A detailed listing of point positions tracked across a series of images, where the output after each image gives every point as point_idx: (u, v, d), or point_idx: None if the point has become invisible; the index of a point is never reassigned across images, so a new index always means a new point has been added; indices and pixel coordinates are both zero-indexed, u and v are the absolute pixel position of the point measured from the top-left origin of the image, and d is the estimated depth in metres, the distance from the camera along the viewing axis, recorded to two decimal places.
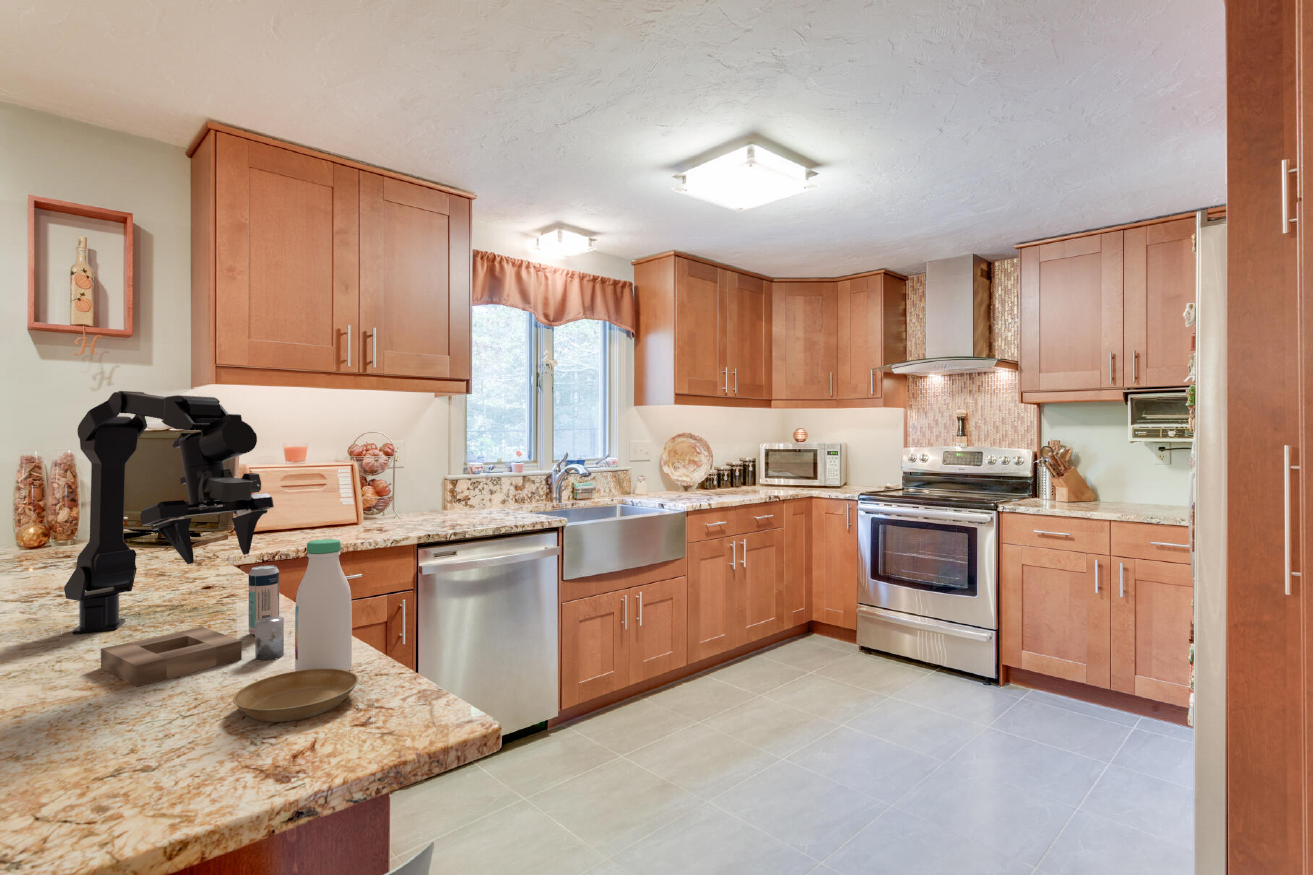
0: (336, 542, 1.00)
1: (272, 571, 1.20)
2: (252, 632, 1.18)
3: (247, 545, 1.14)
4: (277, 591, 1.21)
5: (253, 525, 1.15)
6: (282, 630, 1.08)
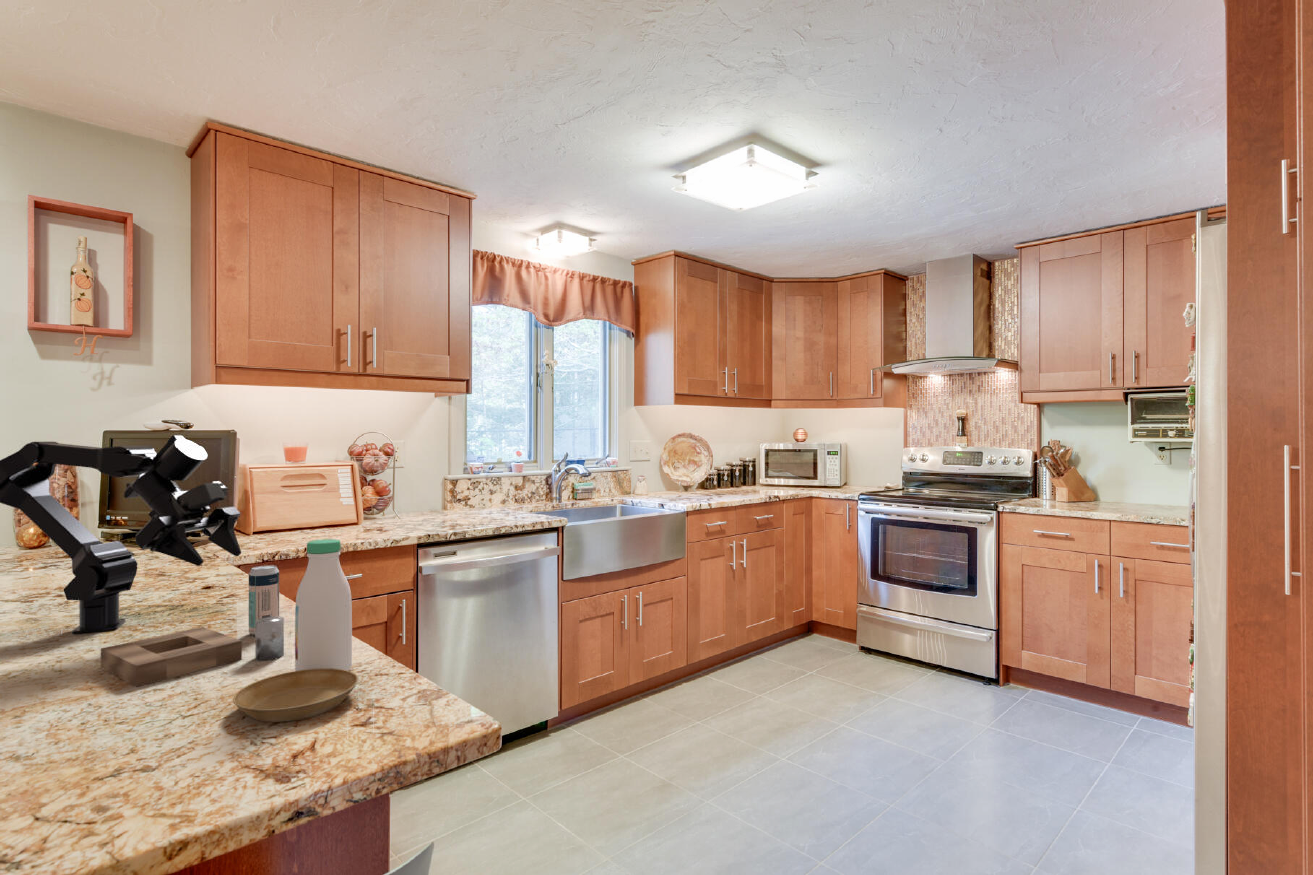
0: (336, 542, 1.00)
1: (272, 571, 1.20)
2: (252, 632, 1.18)
3: (236, 547, 1.26)
4: (277, 591, 1.21)
5: (232, 531, 1.27)
6: (282, 630, 1.08)
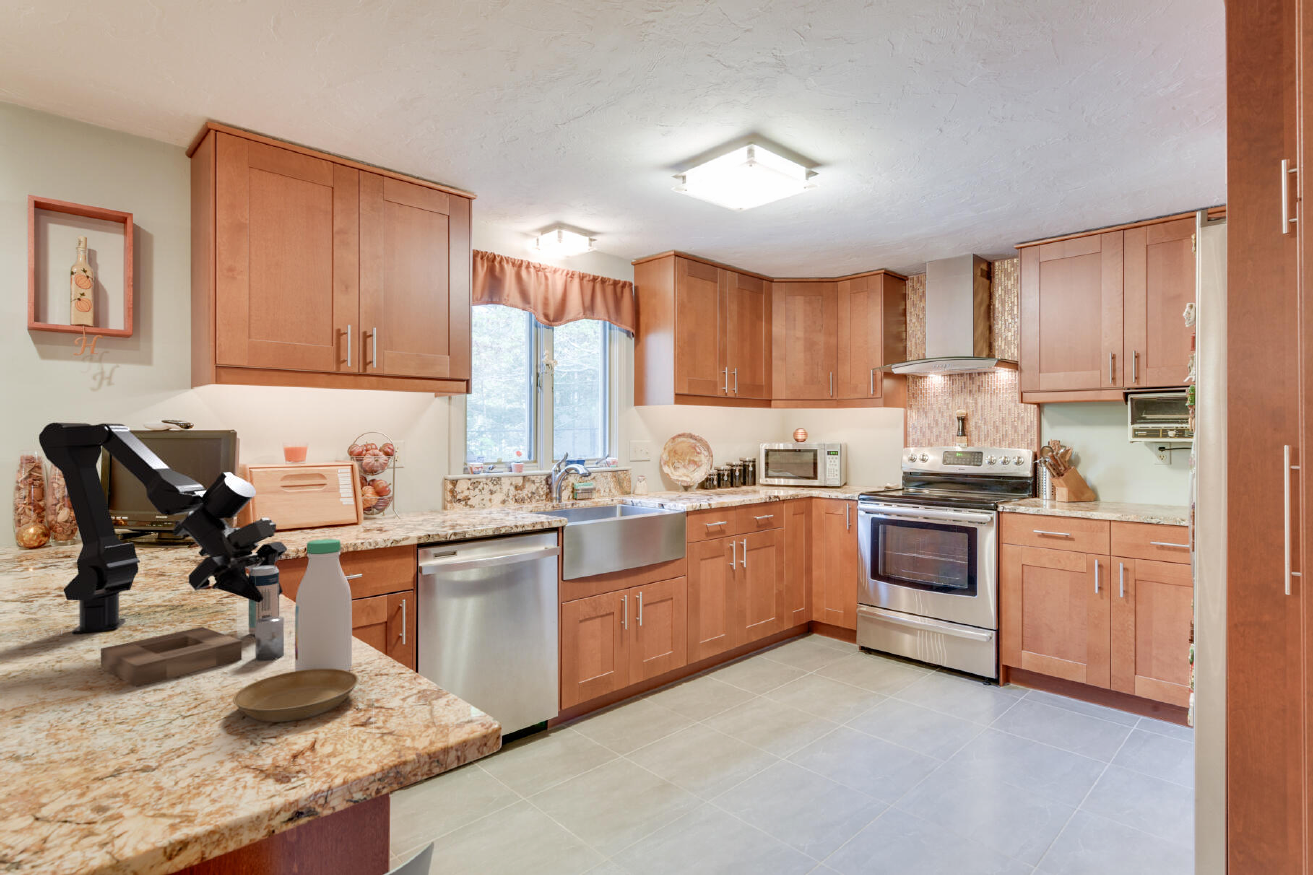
0: (336, 542, 1.00)
1: (272, 571, 1.20)
2: (252, 632, 1.18)
3: None
4: (277, 591, 1.21)
5: None
6: (282, 630, 1.08)
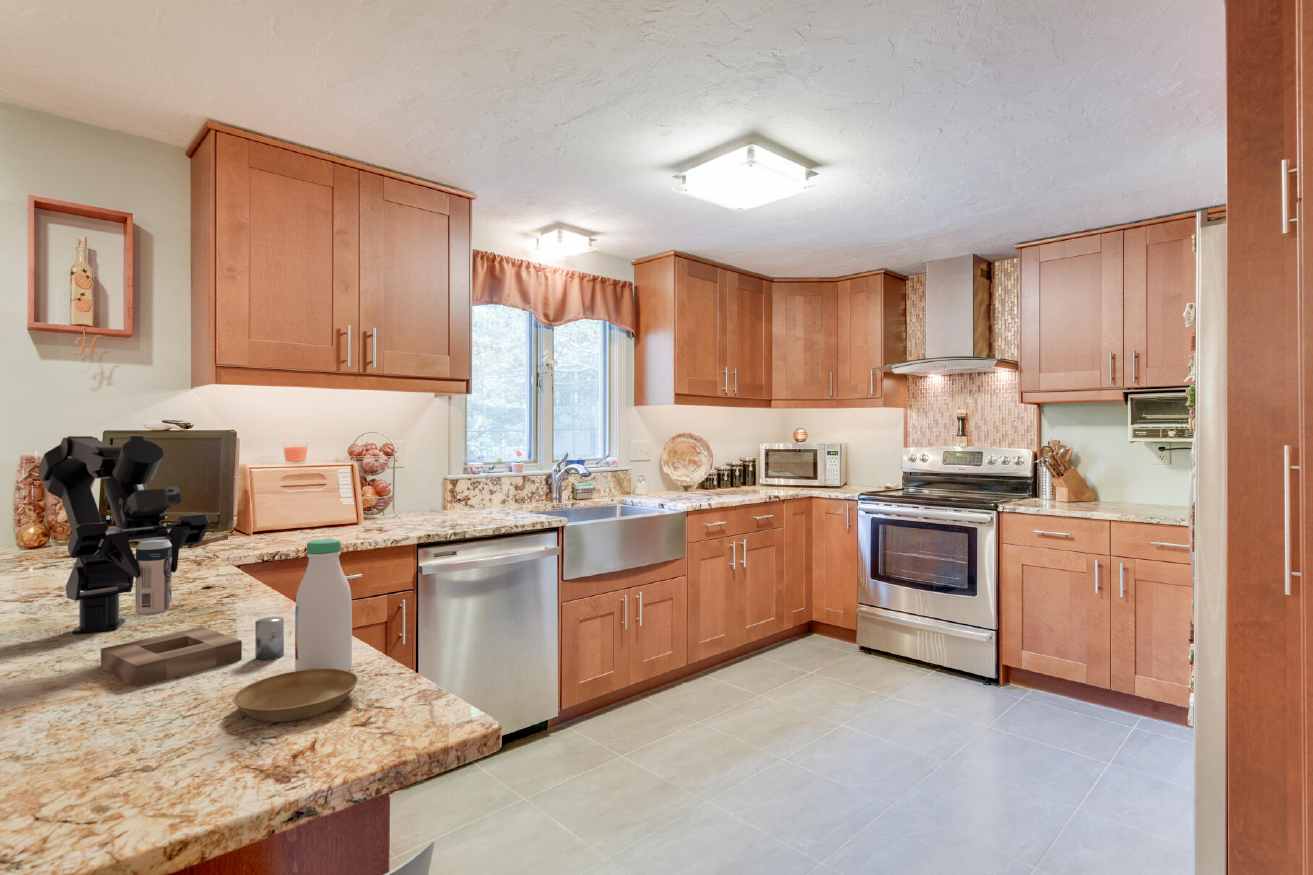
0: (336, 542, 1.00)
1: (156, 546, 1.09)
2: (135, 610, 1.09)
3: (174, 561, 1.12)
4: (163, 568, 1.10)
5: (177, 543, 1.14)
6: (282, 630, 1.08)
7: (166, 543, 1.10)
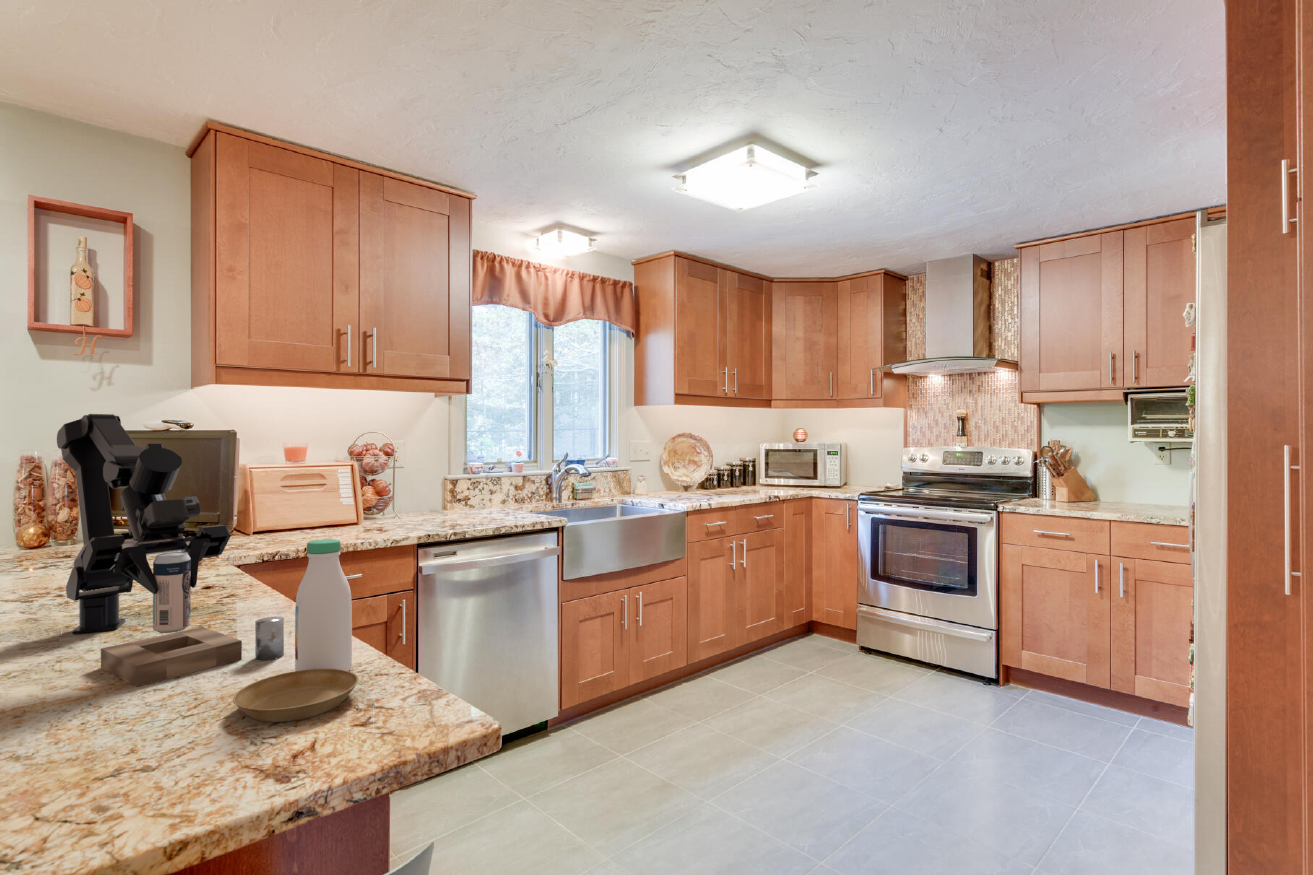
0: (336, 542, 1.00)
1: (174, 559, 1.03)
2: (153, 627, 1.03)
3: (193, 576, 1.06)
4: (182, 583, 1.04)
5: (196, 556, 1.08)
6: (282, 630, 1.08)
7: (185, 556, 1.04)
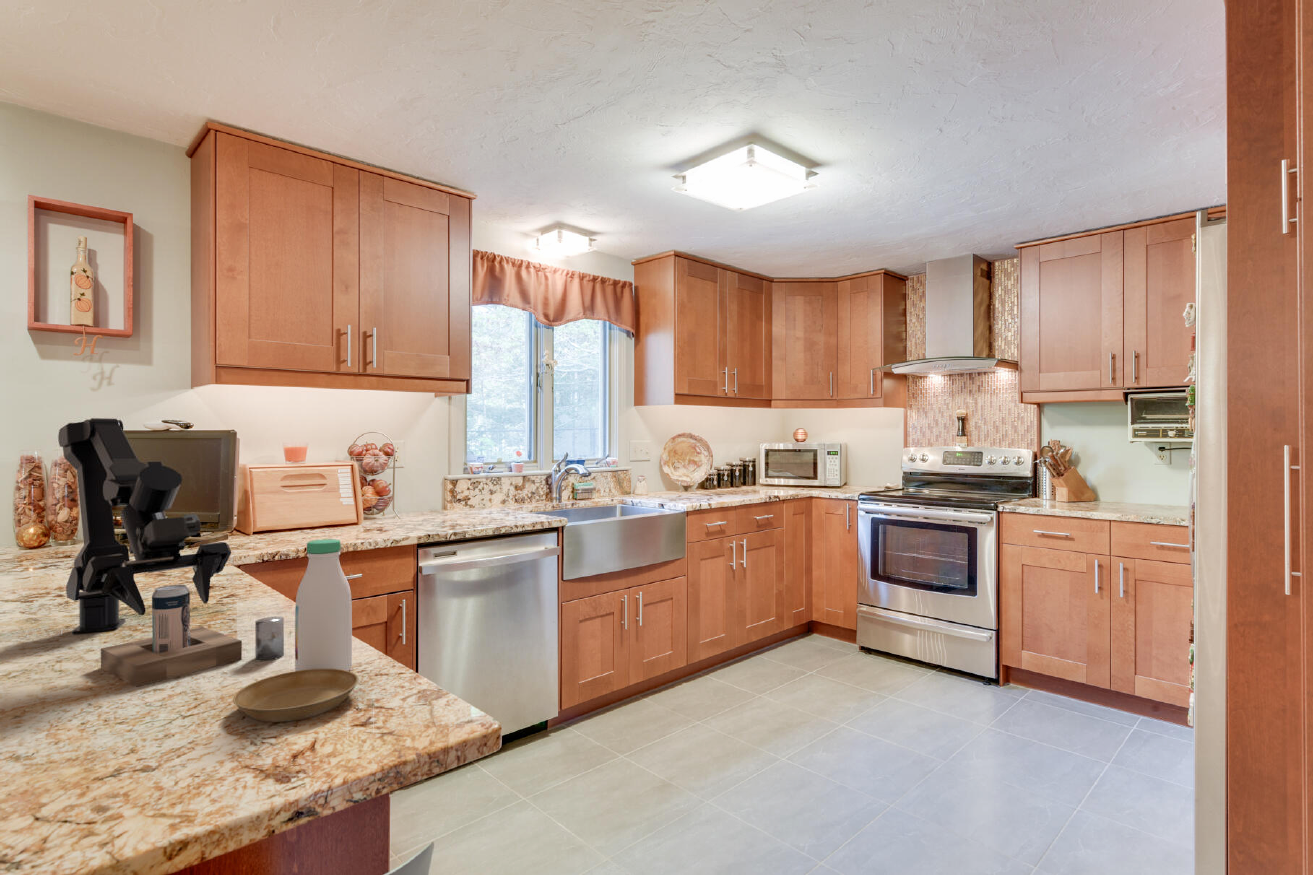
0: (336, 542, 1.00)
1: (173, 593, 1.03)
2: None
3: (205, 592, 1.07)
4: (181, 616, 1.04)
5: (208, 572, 1.09)
6: (282, 630, 1.08)
7: (183, 589, 1.04)
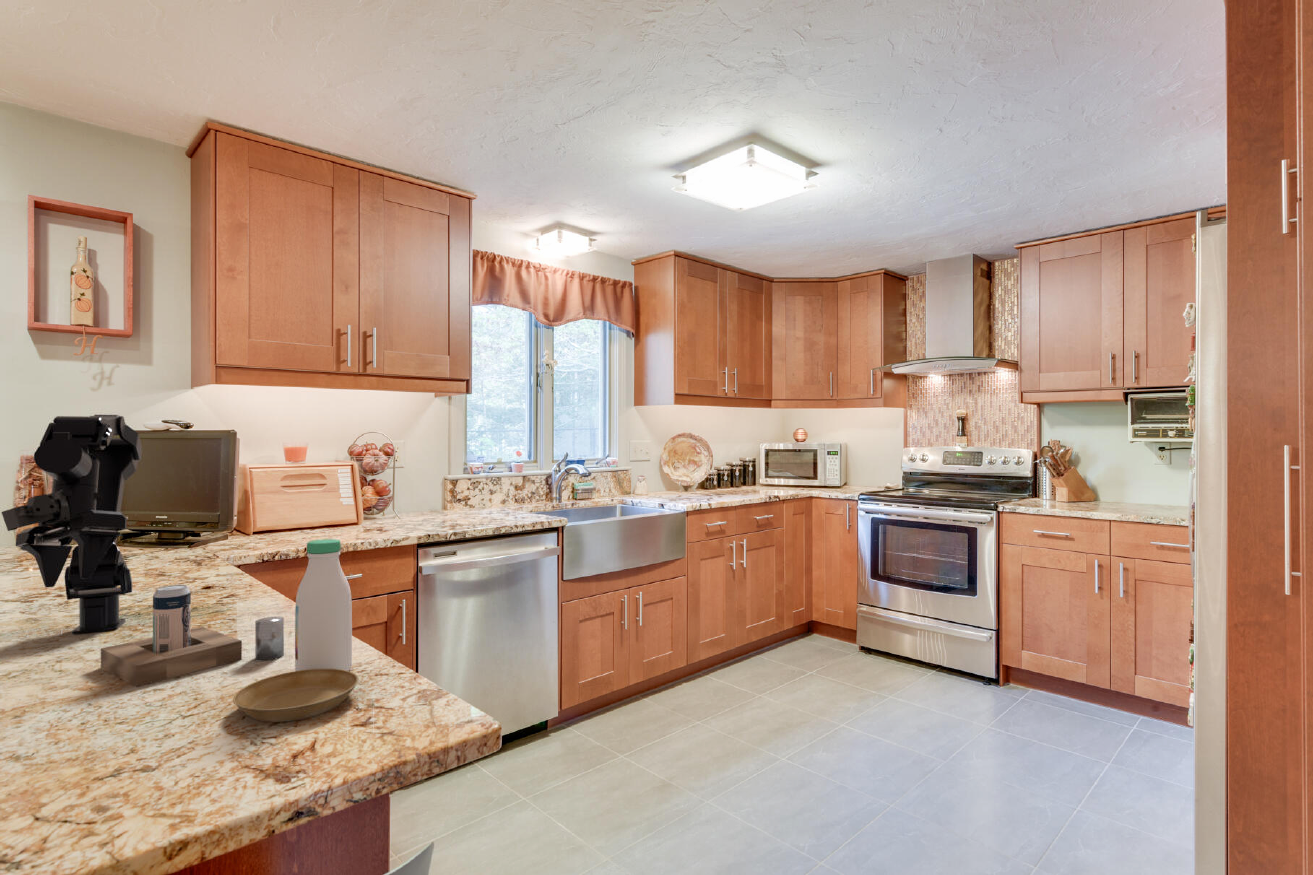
0: (336, 542, 1.00)
1: (174, 593, 1.03)
2: None
3: (81, 569, 1.04)
4: (181, 617, 1.04)
5: (81, 547, 1.04)
6: (282, 630, 1.08)
7: (184, 590, 1.04)
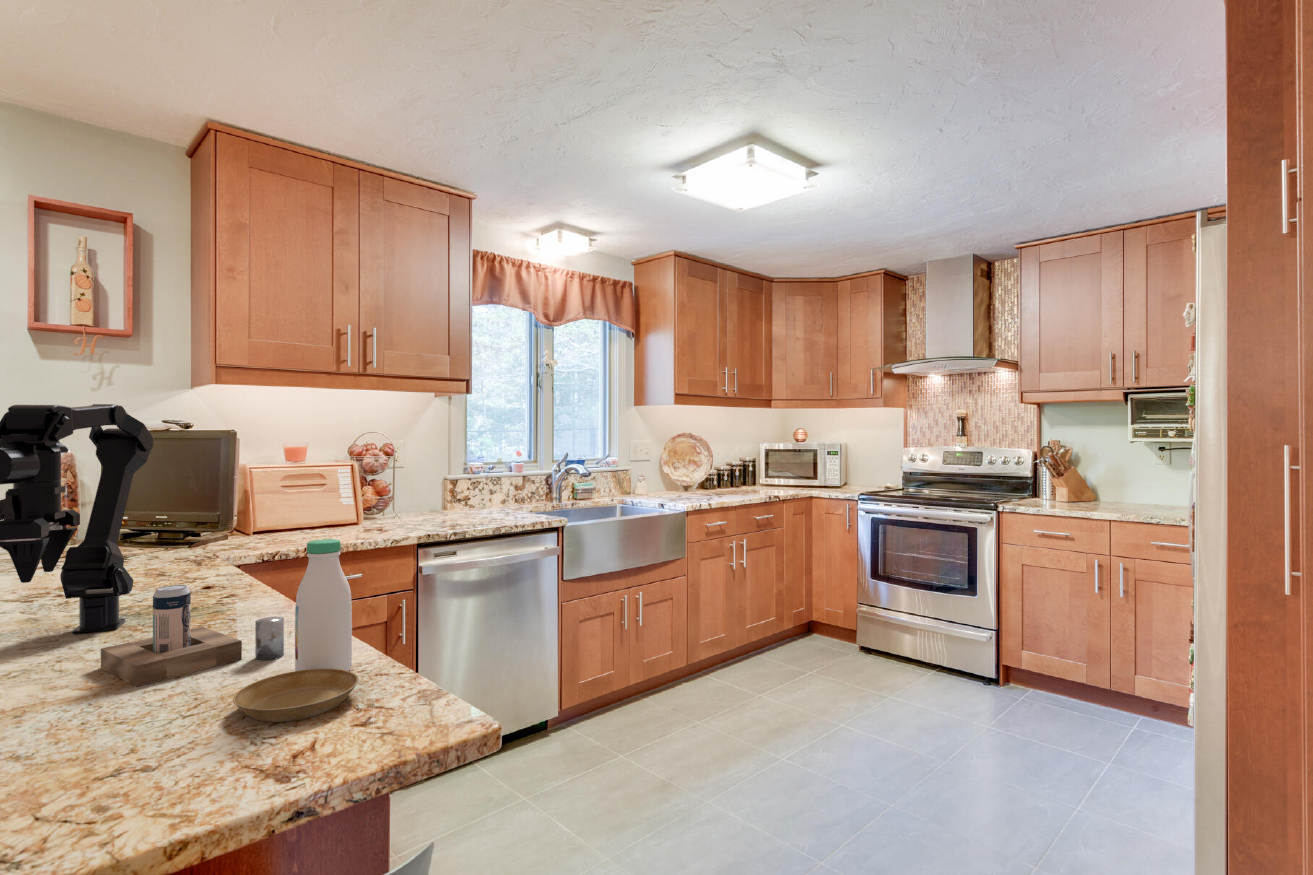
0: (336, 542, 1.00)
1: (174, 593, 1.03)
2: None
3: None
4: (181, 617, 1.04)
5: None
6: (282, 630, 1.08)
7: (184, 590, 1.04)
